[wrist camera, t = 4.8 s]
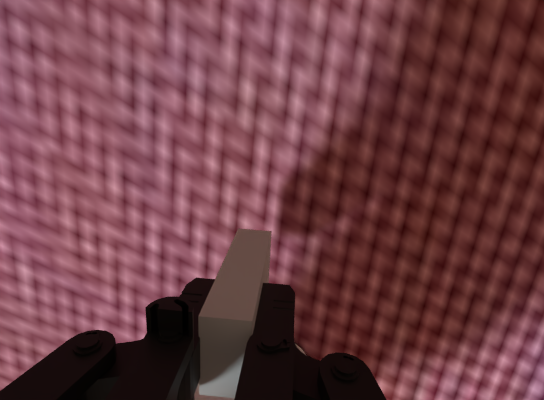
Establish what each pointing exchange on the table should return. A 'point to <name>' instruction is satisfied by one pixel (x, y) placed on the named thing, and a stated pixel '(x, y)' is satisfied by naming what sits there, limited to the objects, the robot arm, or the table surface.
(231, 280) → the robot arm
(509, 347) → the table surface
